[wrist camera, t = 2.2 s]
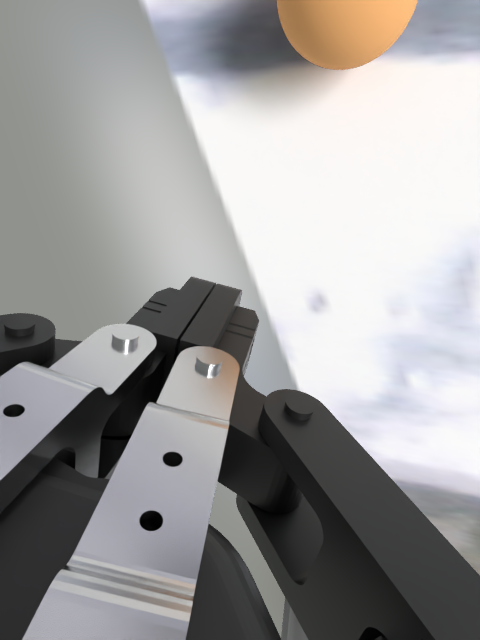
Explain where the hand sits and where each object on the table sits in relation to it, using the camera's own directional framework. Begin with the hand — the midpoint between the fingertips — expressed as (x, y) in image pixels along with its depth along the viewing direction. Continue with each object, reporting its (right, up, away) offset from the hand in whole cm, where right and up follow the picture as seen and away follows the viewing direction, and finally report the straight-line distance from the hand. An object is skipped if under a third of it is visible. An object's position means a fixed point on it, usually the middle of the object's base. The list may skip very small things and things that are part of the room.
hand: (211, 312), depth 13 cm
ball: (+5, +13, +4) cm, 14 cm away
